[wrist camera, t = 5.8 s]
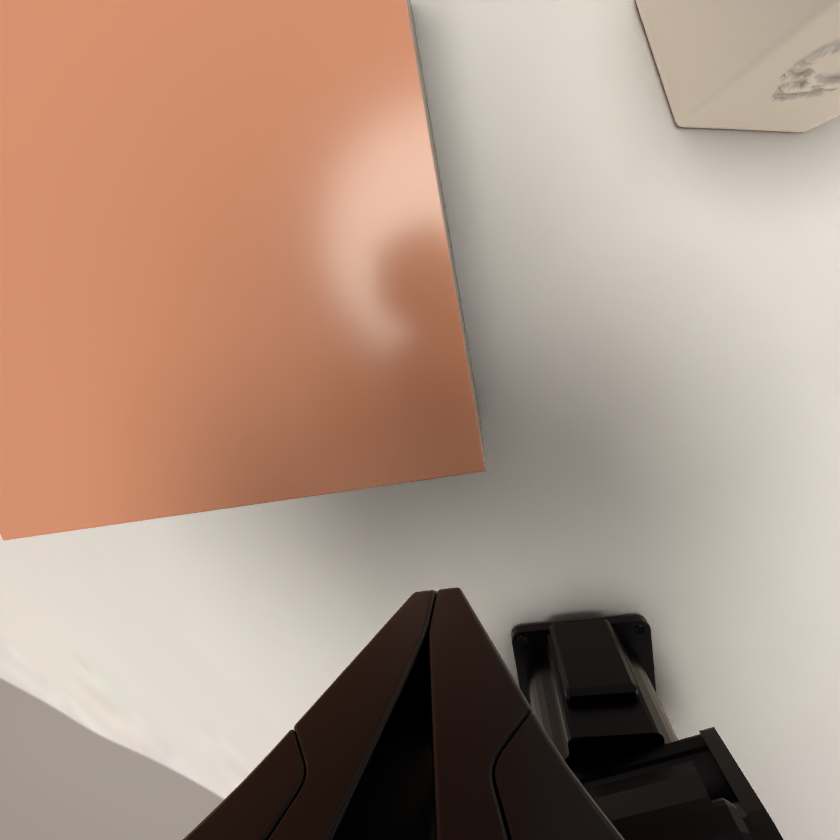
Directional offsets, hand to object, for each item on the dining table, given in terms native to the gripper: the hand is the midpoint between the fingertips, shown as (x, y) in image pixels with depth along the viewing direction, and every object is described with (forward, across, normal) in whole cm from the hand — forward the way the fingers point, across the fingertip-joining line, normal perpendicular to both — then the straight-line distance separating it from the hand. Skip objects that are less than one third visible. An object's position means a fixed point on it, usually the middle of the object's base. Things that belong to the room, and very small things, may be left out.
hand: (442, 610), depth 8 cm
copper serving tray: (+8, +8, -8) cm, 14 cm away
